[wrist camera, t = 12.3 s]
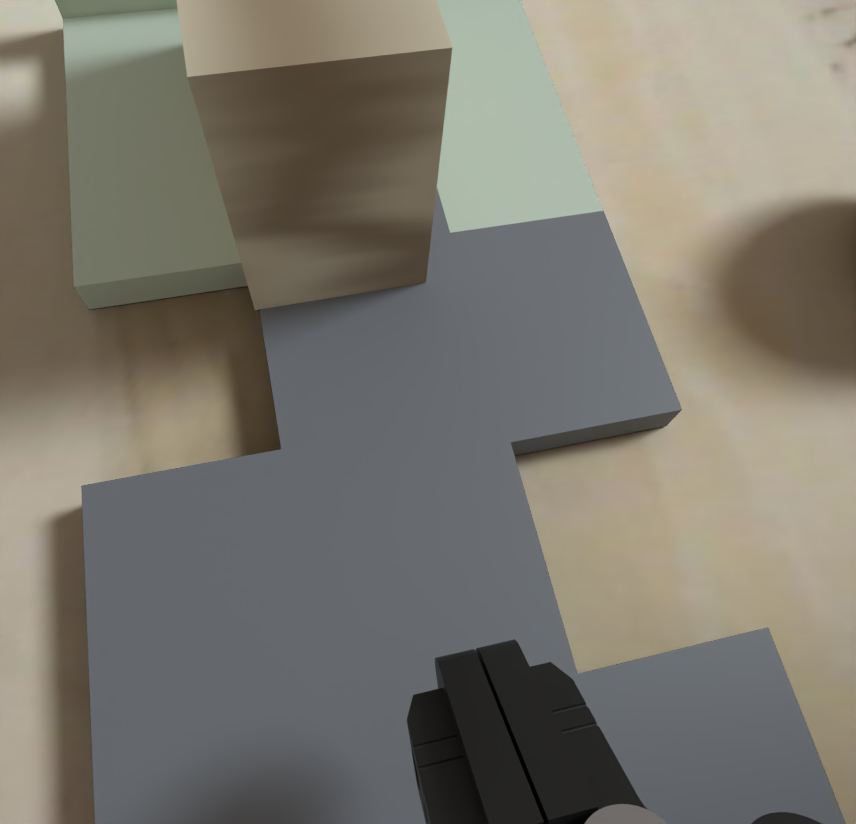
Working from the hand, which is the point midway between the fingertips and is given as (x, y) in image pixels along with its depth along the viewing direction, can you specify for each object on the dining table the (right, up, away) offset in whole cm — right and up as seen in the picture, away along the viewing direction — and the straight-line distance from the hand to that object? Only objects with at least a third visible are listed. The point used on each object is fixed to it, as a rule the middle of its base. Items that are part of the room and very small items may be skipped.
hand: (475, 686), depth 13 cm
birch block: (-5, +13, +10) cm, 17 cm away
